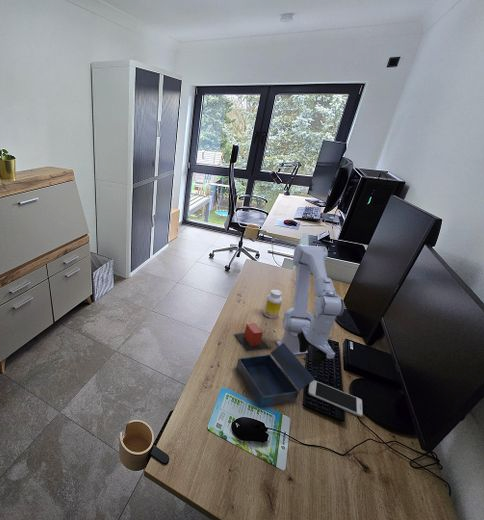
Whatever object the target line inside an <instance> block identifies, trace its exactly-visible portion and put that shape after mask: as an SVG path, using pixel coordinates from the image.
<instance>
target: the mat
mask: <svg viewBox="0 0 484 520" xmlns="http://www.w3.org/2000/svg"><path fill="white" fill-rule="evenodd" d="M244 333H245V332H243V333H235V334H234V336H235V337H236V339H237V340H238V342H239V343H240V345H242V347H243V348H244V349H245V351H246V352H250V351H258V350H266V349H269V346H268V345H267V344H266V342H265V341H264V340H263V339H262V338H261V342H260V345H257V346H250V344H249V343H248V342H247V340H246V339H245V338H244Z"/></svg>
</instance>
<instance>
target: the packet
mask: <svg viewBox="0 0 484 520" xmlns="http://www.w3.org/2000/svg"><path fill="white" fill-rule="evenodd" d="M243 333H244V338H245V339H246V340H247V342H248V343H249V344H250V346H257V345H260V342H261V339H262V337H263V334H264V331H263V330H262V329H261V328H260V327H259V326H258V324H257V323H256V322H251V323H246V325H245V329H244V332H243Z"/></svg>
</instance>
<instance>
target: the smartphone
mask: <svg viewBox="0 0 484 520" xmlns="http://www.w3.org/2000/svg"><path fill="white" fill-rule="evenodd" d="M307 394H308V395H309V396H312V397H314V398H316V399H318V400H320V401H323V402H326V403H328V404H330V405H332V406H335V407H337V408H339V409H341V410H343V411H345V412H348V413H350V414H352V415H354V416H357V417H361V418H362V417H363V414H364V413H363V399H361V398H359V397H357V396H354V395H352V394H350V393H348V392H344V391H342V390H340V389H337V388H334V387H332V386H329V385H327V384H324V383H322V382H319V381H317V380H316V379H315V380H313V381H312V382H311V383H309V384H308V392H307Z"/></svg>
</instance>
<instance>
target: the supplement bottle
mask: <svg viewBox="0 0 484 520" xmlns="http://www.w3.org/2000/svg"><path fill="white" fill-rule="evenodd" d="M282 294H283V293H282V291H281V290H278V289H271V290H270V293H269V294H268V295H267V296H266V300H265V303H264V306H263V311H262V312H263V315H264V316H265V317H267V318H270V319H275V318H278V317H279V313H280V311H281V306H282V302H283V297H282Z"/></svg>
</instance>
